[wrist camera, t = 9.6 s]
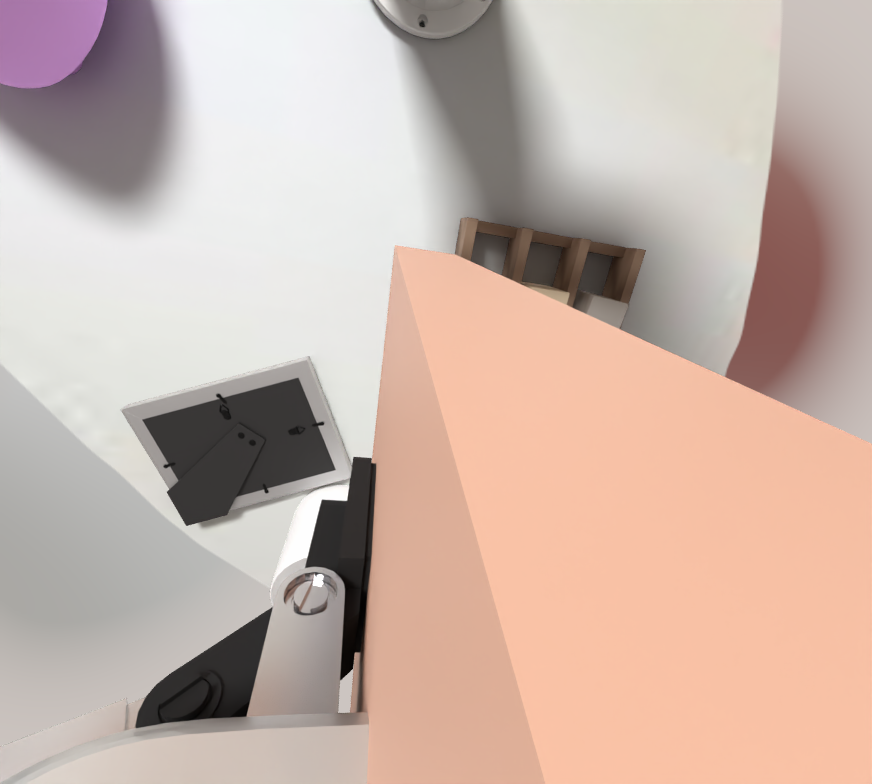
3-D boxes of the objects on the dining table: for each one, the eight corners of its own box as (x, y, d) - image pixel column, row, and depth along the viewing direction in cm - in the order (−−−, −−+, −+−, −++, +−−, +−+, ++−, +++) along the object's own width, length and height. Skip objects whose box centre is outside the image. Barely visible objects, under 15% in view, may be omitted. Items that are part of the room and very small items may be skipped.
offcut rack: (460, 218, 41) (467, 217, 38) (624, 248, 44) (645, 250, 41) (427, 412, 49) (431, 427, 45) (569, 427, 52) (582, 442, 48)
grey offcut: (568, 287, 45) (593, 295, 40) (600, 295, 46) (629, 304, 41) (534, 384, 50) (553, 404, 44) (564, 390, 50) (586, 410, 45)
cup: (293, 482, 51) (266, 553, 40) (386, 484, 52) (385, 553, 41) (295, 555, 55) (271, 637, 44) (381, 555, 57) (379, 634, 46)
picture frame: (196, 511, 52) (354, 468, 52) (186, 526, 49) (352, 480, 49) (131, 402, 45) (310, 354, 46) (115, 412, 43) (305, 361, 43)
